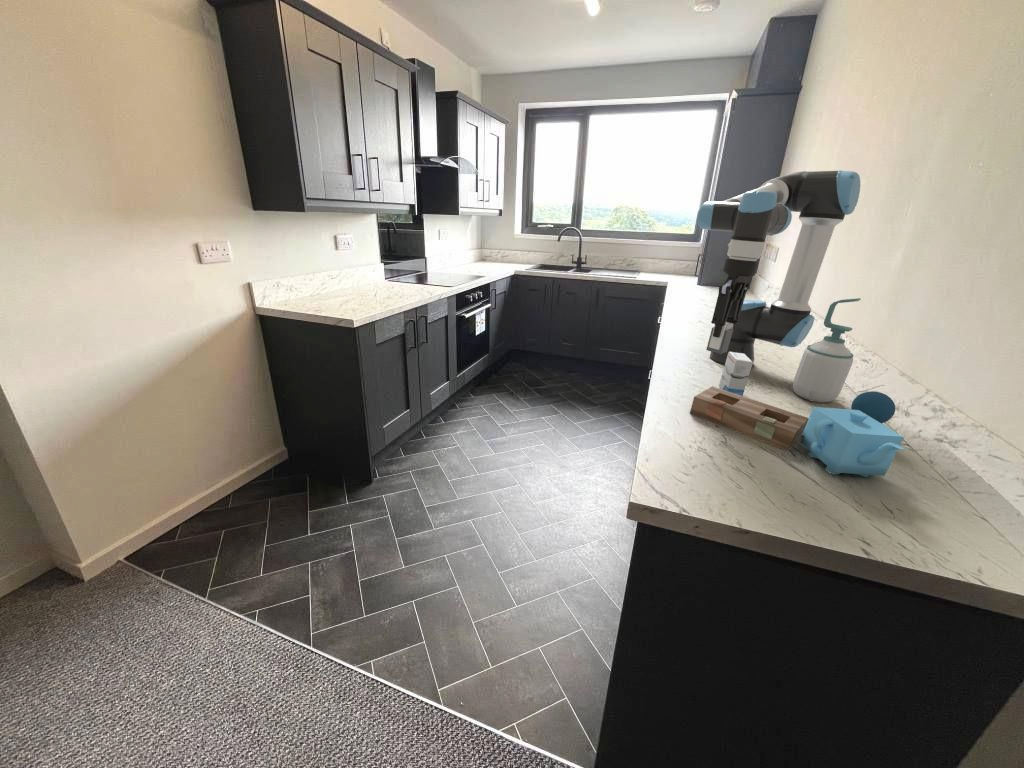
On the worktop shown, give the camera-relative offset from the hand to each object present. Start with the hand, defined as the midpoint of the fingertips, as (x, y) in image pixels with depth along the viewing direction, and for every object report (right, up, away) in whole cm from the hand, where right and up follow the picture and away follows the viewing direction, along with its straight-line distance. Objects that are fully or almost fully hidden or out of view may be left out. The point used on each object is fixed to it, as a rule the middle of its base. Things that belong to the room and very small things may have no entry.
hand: (717, 346), depth 113 cm
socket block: (+5, -21, -4) cm, 22 cm away
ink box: (+12, -13, +16) cm, 23 cm away
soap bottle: (+38, -14, +16) cm, 44 cm away
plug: (0, -1, +1) cm, 1 cm away
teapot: (+17, -30, -22) cm, 41 cm away
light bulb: (+34, -24, -6) cm, 42 cm away
